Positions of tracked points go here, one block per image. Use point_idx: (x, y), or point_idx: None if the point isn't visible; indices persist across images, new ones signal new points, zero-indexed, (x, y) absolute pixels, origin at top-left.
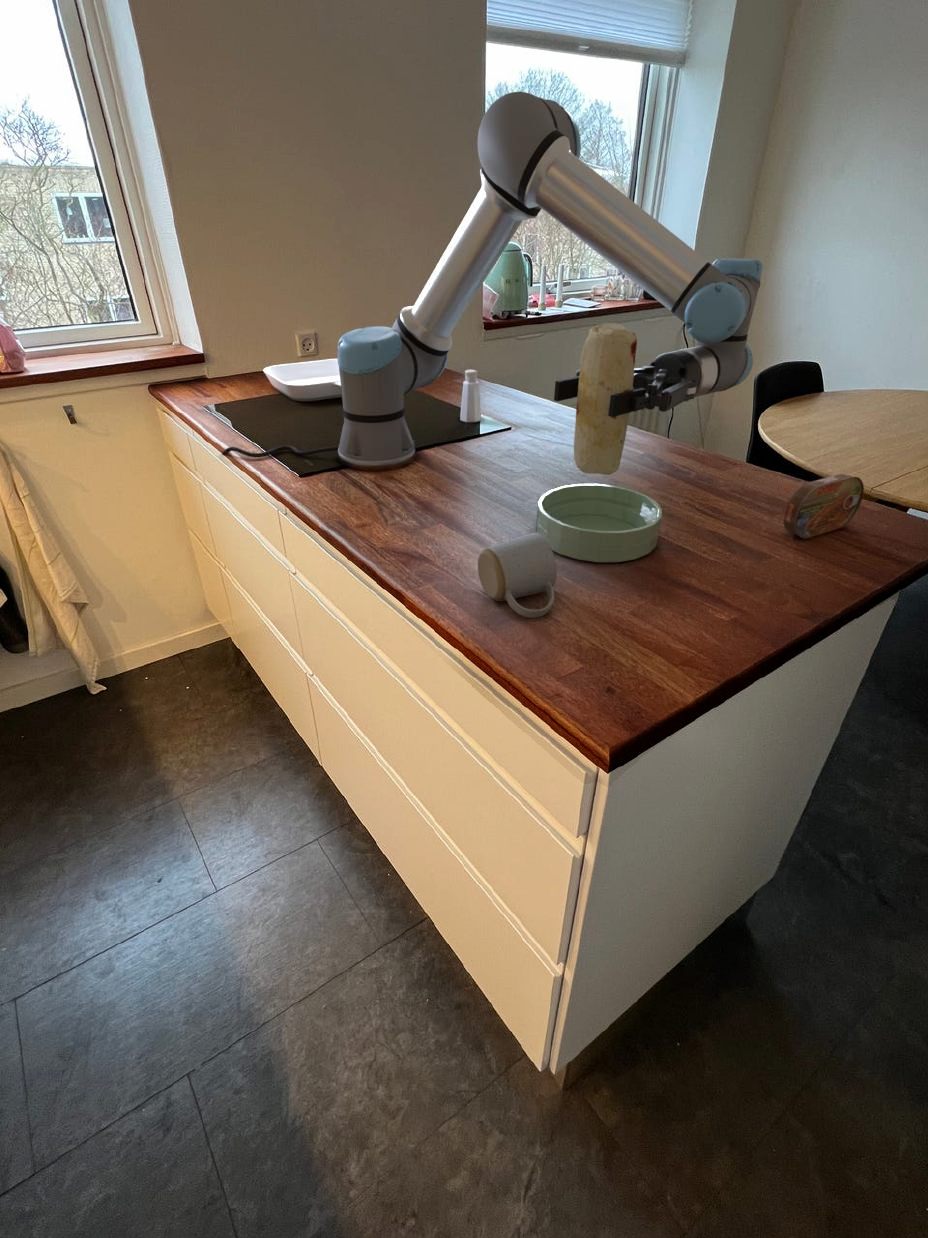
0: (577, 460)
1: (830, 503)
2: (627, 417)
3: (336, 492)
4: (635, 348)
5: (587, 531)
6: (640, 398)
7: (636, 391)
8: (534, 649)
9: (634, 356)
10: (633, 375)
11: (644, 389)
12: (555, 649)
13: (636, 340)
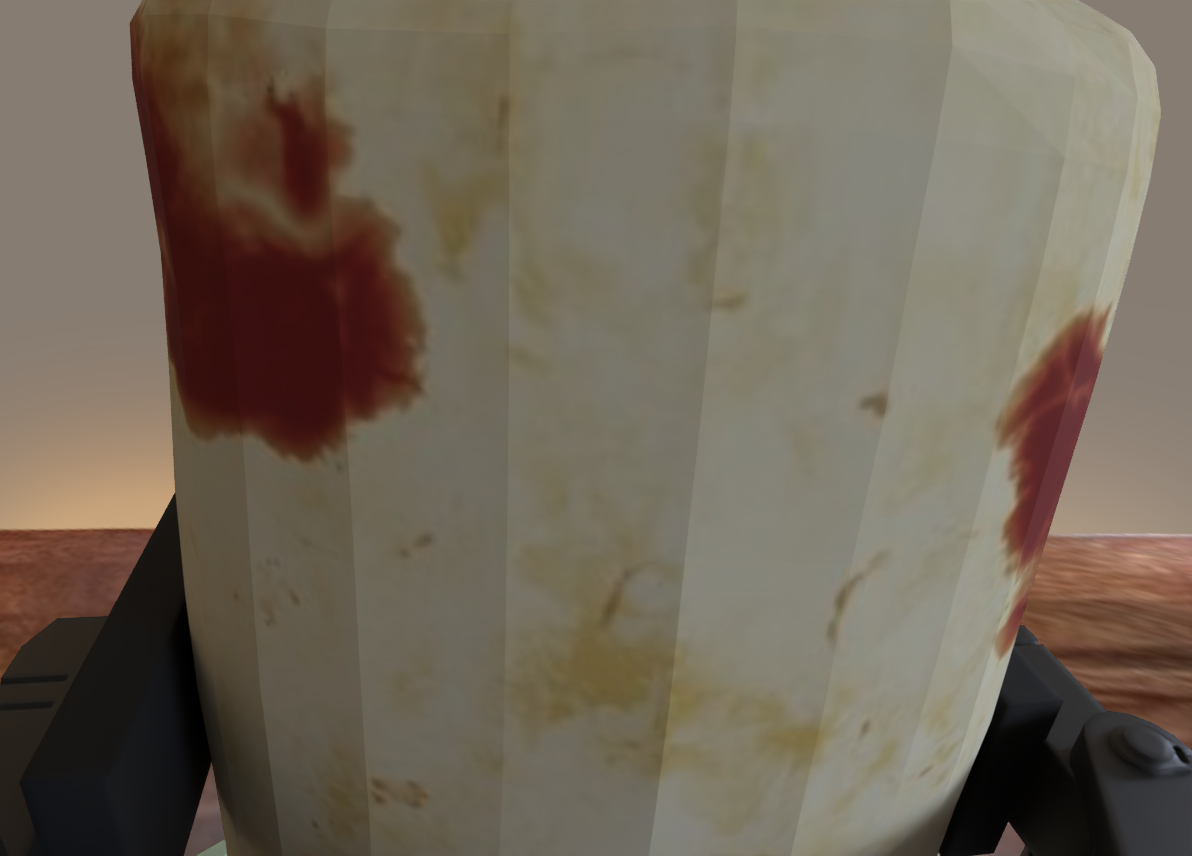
0: None
1: None
2: (227, 849)
3: (1087, 604)
4: (150, 159)
5: (219, 842)
6: (22, 655)
7: (104, 632)
8: (100, 582)
9: (168, 275)
10: (190, 521)
11: (39, 753)
12: (53, 607)
13: (142, 39)
